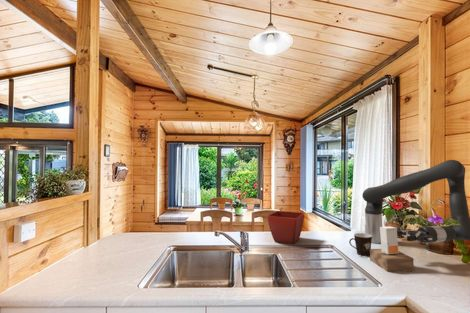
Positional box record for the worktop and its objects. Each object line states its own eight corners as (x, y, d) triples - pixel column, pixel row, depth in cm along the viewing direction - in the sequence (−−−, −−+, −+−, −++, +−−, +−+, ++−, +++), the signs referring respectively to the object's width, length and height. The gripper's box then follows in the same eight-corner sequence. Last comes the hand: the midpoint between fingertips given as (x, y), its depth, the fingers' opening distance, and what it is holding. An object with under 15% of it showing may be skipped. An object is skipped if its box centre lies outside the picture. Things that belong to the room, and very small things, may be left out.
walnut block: (370, 261, 130) (369, 249, 130) (393, 260, 130) (393, 248, 131) (387, 272, 116) (387, 259, 116) (413, 271, 116) (413, 258, 117)
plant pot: (297, 246, 154) (296, 218, 155) (267, 242, 164) (266, 215, 164) (305, 238, 171) (304, 212, 171) (278, 235, 180) (277, 210, 181)
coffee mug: (370, 251, 142) (369, 233, 143) (374, 257, 134) (373, 237, 134) (347, 250, 145) (346, 232, 146) (350, 255, 137) (349, 236, 137)
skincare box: (388, 254, 121) (385, 228, 122) (381, 252, 125) (379, 226, 126) (399, 253, 122) (397, 227, 123) (392, 251, 126) (390, 226, 128)
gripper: (419, 223, 133) (389, 224, 131) (444, 230, 119) (411, 231, 117) (420, 238, 133) (390, 239, 131) (445, 246, 119) (412, 248, 117)
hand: (400, 236), depth 124 cm, fingers open, 8 cm apart
